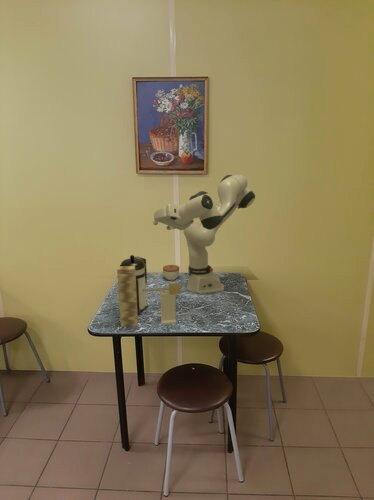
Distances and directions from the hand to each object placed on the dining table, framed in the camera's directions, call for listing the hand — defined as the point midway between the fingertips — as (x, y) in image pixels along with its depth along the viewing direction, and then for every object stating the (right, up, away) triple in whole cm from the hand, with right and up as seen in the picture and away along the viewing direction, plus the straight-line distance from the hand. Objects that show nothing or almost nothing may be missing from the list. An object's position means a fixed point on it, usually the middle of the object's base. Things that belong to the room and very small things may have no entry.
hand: (161, 226), depth 176 cm
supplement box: (-17, -32, +49) cm, 61 cm away
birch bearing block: (-15, -48, -3) cm, 50 cm away
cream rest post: (+4, -47, -1) cm, 47 cm away
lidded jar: (+3, -31, +55) cm, 63 cm away
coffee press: (-15, -44, +10) cm, 47 cm away
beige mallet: (0, -33, -5) cm, 33 cm away
